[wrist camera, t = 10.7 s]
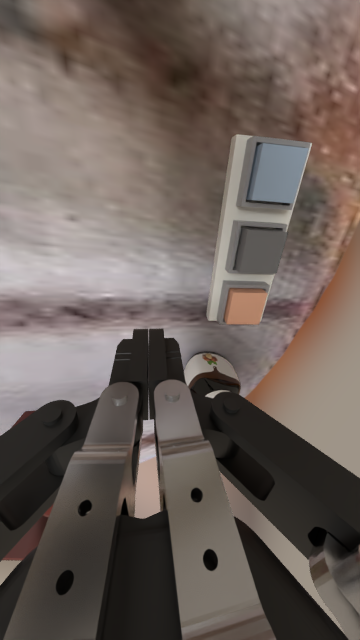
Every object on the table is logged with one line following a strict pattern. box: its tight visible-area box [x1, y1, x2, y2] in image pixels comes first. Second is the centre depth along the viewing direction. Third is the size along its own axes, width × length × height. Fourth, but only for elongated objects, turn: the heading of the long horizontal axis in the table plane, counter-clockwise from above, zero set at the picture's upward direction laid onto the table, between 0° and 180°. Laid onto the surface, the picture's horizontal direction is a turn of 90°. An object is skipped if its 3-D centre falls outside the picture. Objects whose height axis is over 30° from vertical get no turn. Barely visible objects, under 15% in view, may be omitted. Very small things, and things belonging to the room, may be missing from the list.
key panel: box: [206, 134, 312, 325], centre depth 33 cm, size 26×10×4 cm, turn 176°
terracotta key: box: [224, 288, 268, 324], centre depth 36 cm, size 6×6×2 cm
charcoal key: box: [234, 228, 288, 274], centre depth 31 cm, size 6×6×2 cm
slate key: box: [246, 143, 309, 203], centre depth 27 cm, size 6×6×2 cm
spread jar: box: [184, 352, 241, 398], centre depth 42 cm, size 12×11×12 cm
